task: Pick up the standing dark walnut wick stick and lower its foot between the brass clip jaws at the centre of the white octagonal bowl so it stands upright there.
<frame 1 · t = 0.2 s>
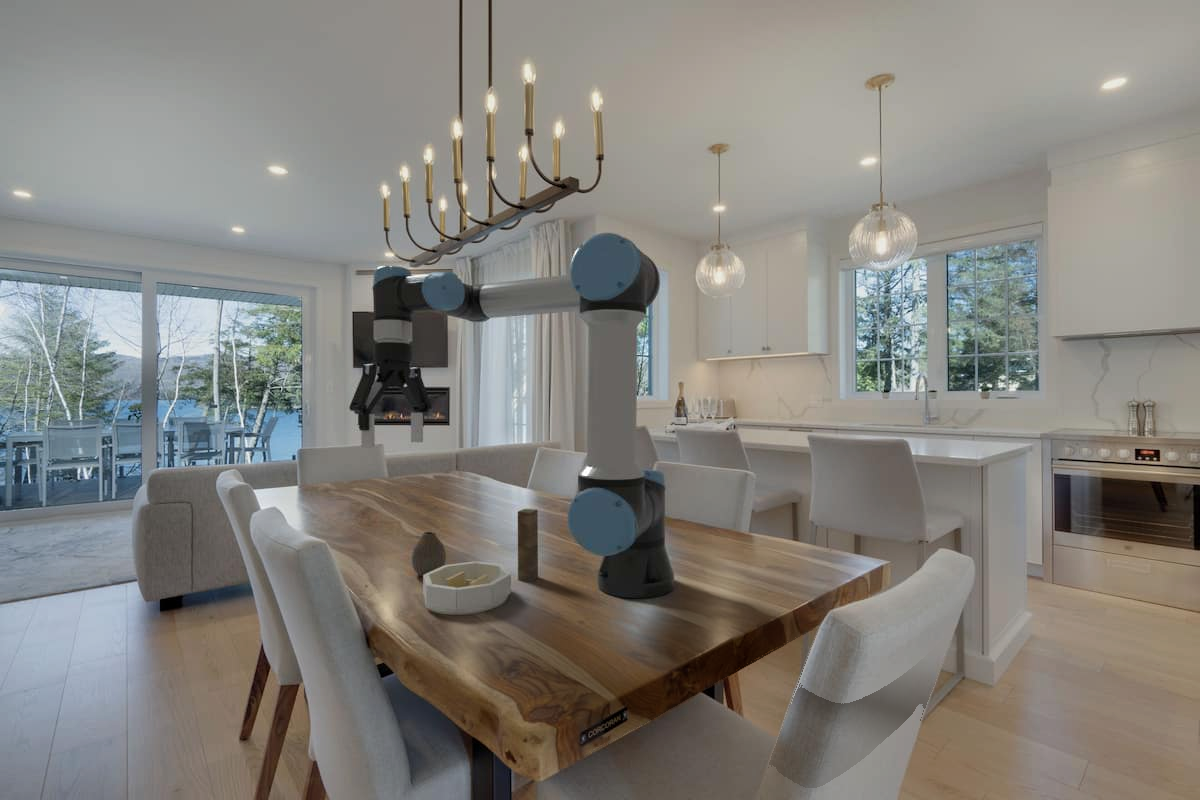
hand: (393, 444, 112), 28 cm above the table, fingers open, 13 cm apart
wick: (528, 578, 111), on the table
vase: (429, 575, 114), on the table
white octagonal bowl: (467, 598, 100), on the table
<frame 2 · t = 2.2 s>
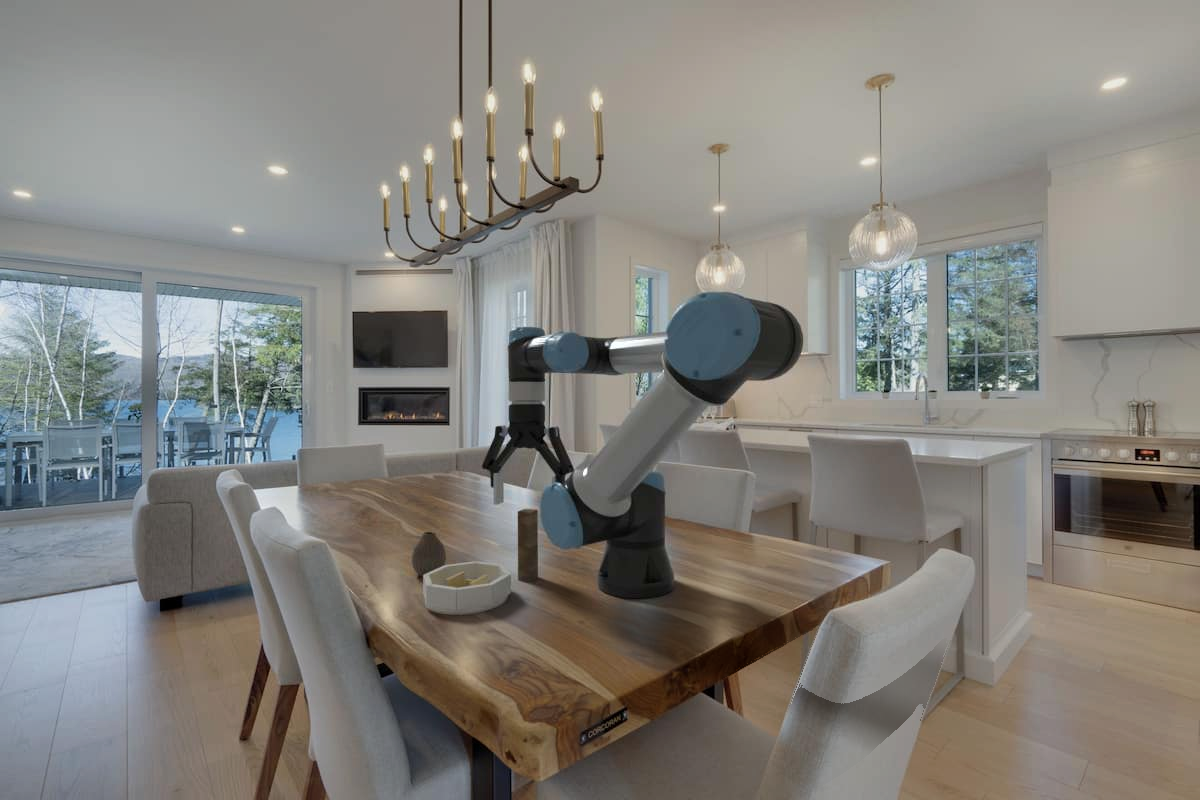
hand: (526, 505, 111), 15 cm above the table, fingers open, 13 cm apart
nothing on the table moved.
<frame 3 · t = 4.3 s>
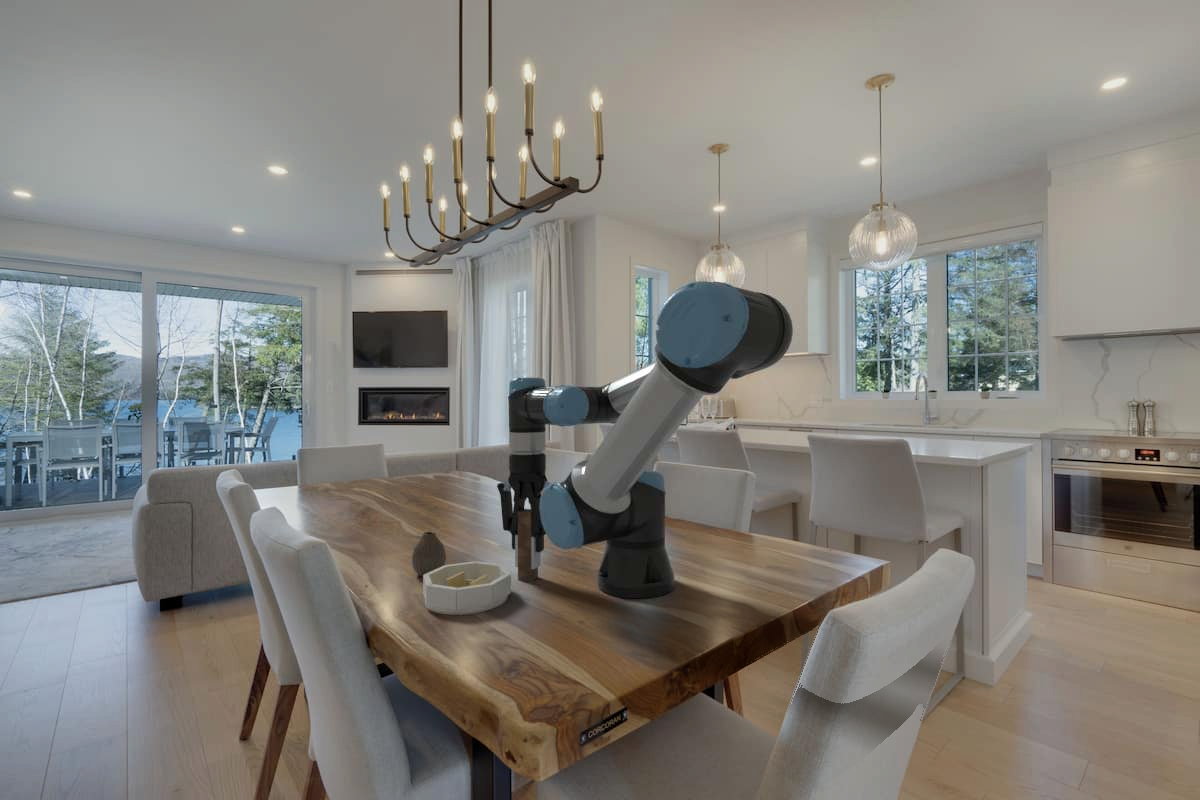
hand: (527, 566, 111), 3 cm above the table, fingers closed on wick, 3 cm apart
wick: (528, 578, 111), on the table, touching gripper
everything else where it was.
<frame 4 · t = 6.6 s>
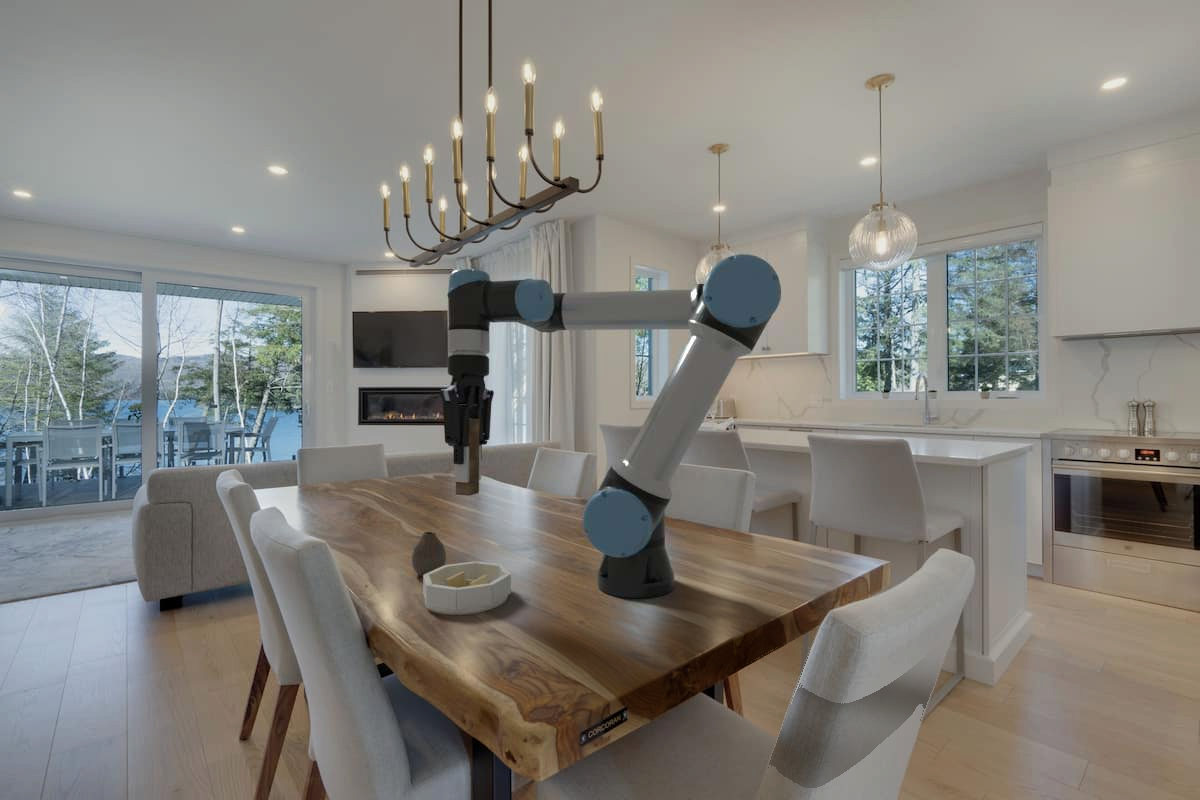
hand: (467, 480, 100), 22 cm above the table, fingers closed on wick, 3 cm apart
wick: (467, 493, 100), point 19 cm above the table, touching gripper
everything else where it was.
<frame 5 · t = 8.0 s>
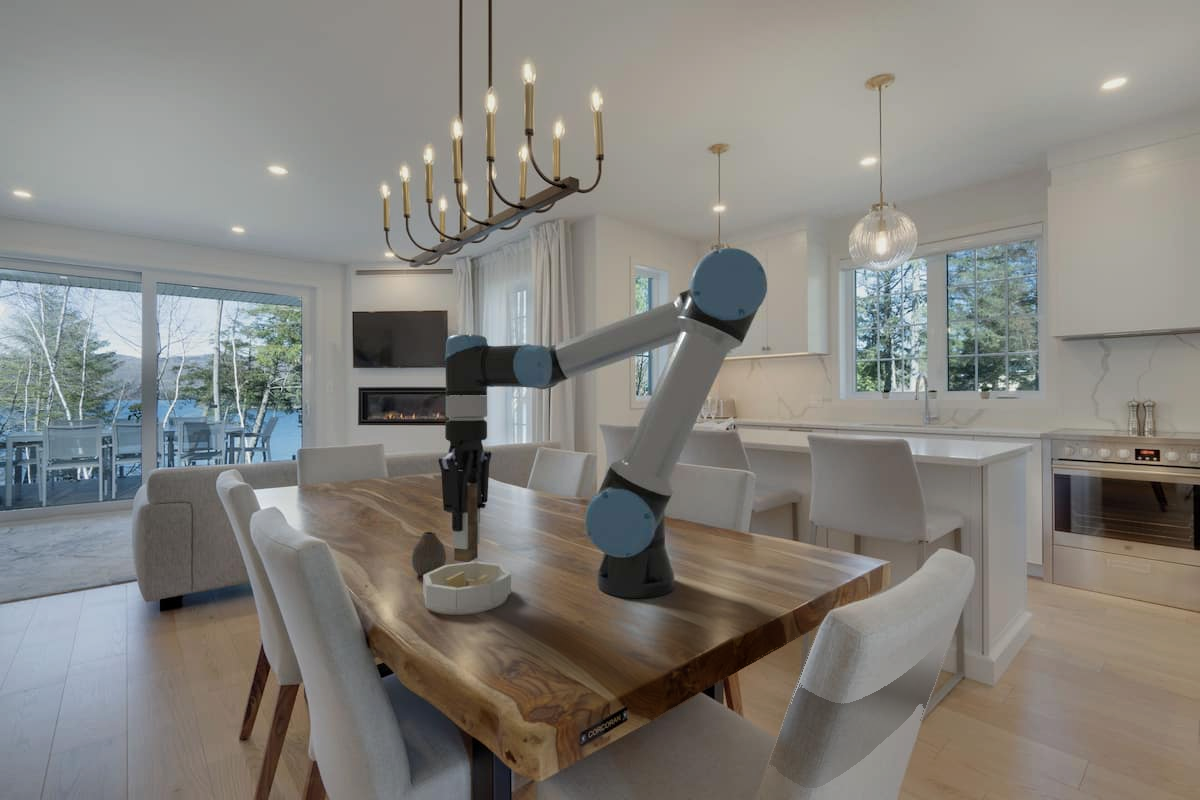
hand: (466, 545, 100), 10 cm above the table, fingers closed on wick, 3 cm apart
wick: (466, 558, 100), point 7 cm above the table, touching gripper
everything else where it was.
when the fingers open (6 cm above the table, at t = 9.2 s): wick drops 2 cm, resting on white octagonal bowl.
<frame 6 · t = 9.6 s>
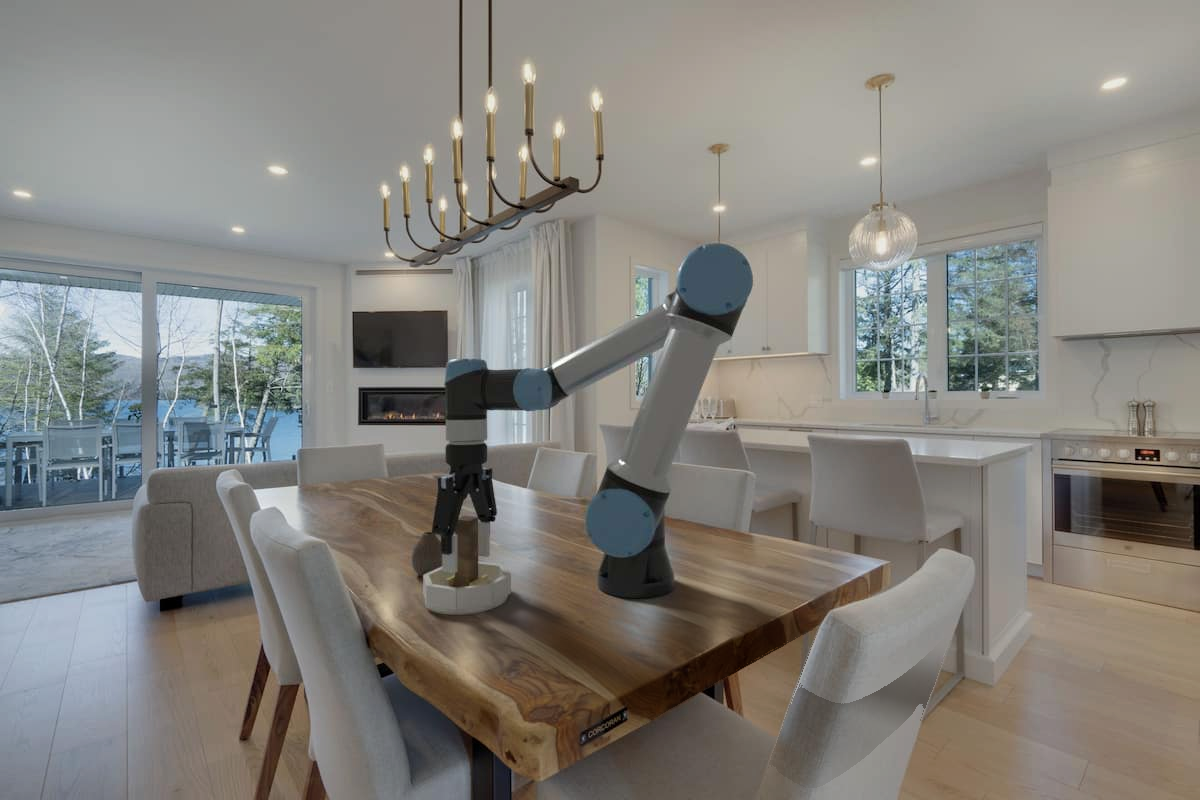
hand: (467, 563, 100), 7 cm above the table, fingers open, 9 cm apart
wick: (466, 592, 100), point 1 cm above the table, touching white octagonal bowl
everything else where it was.
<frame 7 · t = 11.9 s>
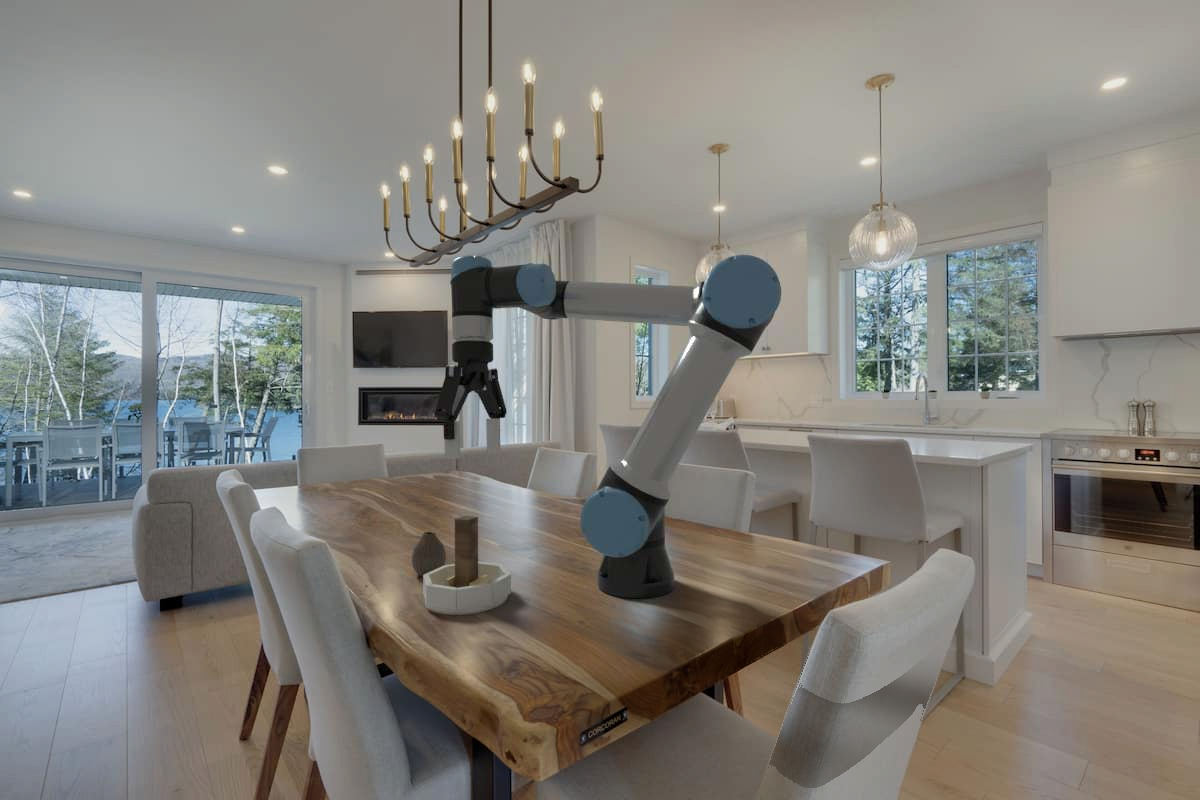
hand: (474, 454, 101), 27 cm above the table, fingers open, 13 cm apart
nothing on the table moved.
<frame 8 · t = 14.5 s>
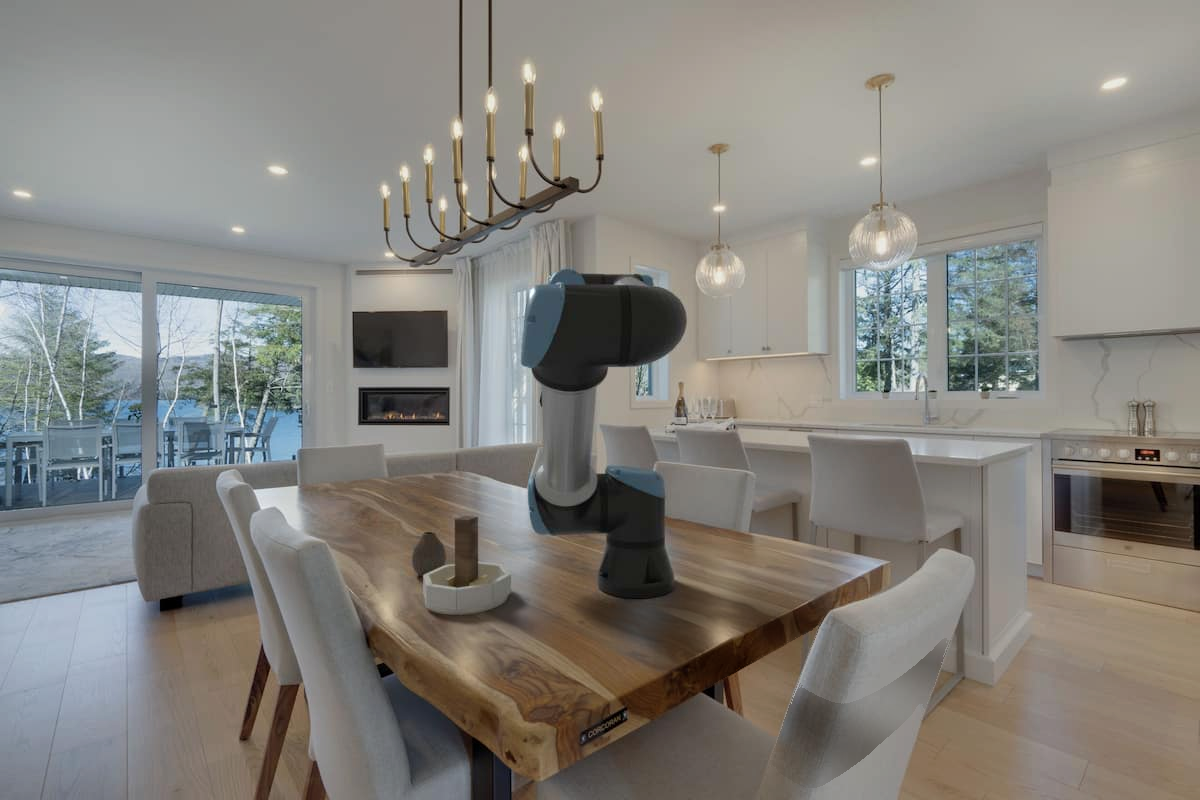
hand: (565, 435, 123), 29 cm above the table, fingers open, 13 cm apart
nothing on the table moved.
at the end: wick 0.1 cm off-centre on the white octagonal bowl, point 1.0 cm above the white octagonal bowl's base; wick tilted 0°; the gripper is holding nothing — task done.
